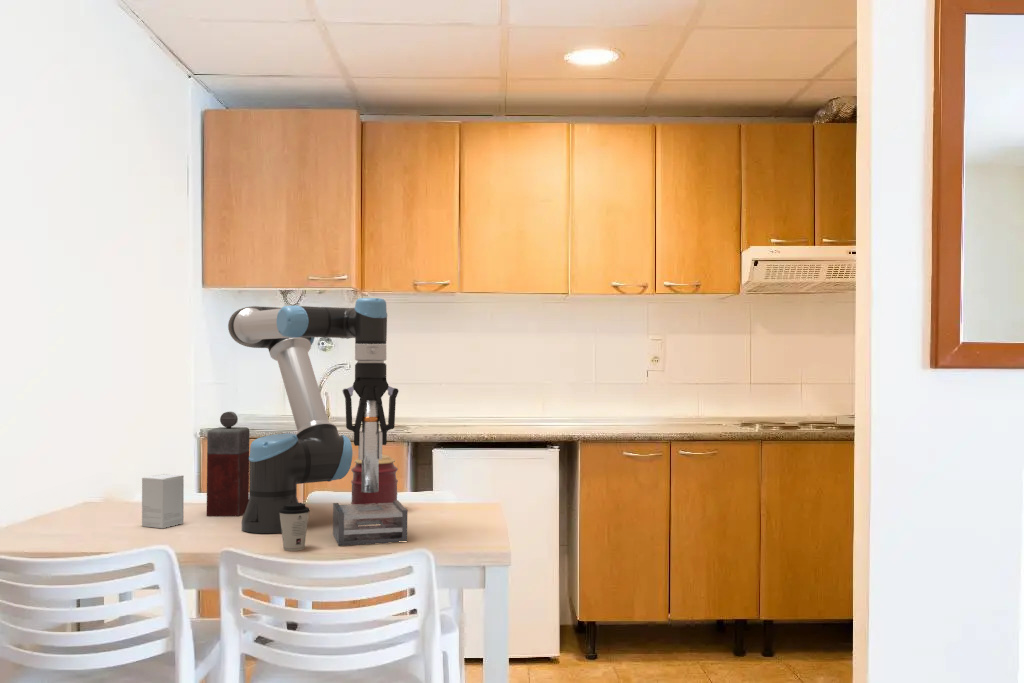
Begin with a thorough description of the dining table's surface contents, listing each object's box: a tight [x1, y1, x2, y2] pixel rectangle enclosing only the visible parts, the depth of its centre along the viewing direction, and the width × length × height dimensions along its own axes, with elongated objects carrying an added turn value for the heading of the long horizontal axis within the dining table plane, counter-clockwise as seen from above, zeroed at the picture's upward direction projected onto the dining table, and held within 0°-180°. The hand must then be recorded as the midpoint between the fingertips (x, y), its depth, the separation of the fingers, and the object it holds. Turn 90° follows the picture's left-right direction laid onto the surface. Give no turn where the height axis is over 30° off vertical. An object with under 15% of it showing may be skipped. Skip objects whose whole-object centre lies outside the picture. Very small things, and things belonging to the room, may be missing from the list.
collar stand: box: [332, 499, 409, 547], centre depth 212 cm, size 16×14×8 cm
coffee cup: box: [279, 502, 311, 552], centre depth 200 cm, size 7×7×10 cm
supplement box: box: [141, 473, 185, 529], centre depth 225 cm, size 7×7×13 cm
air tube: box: [361, 400, 380, 493], centre depth 212 cm, size 4×4×22 cm
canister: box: [350, 454, 399, 511], centre depth 247 cm, size 13×13×18 cm
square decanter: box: [206, 411, 250, 517], centre depth 243 cm, size 9×11×28 cm
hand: (370, 458), depth 212 cm, fingers closed on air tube, 4 cm apart
